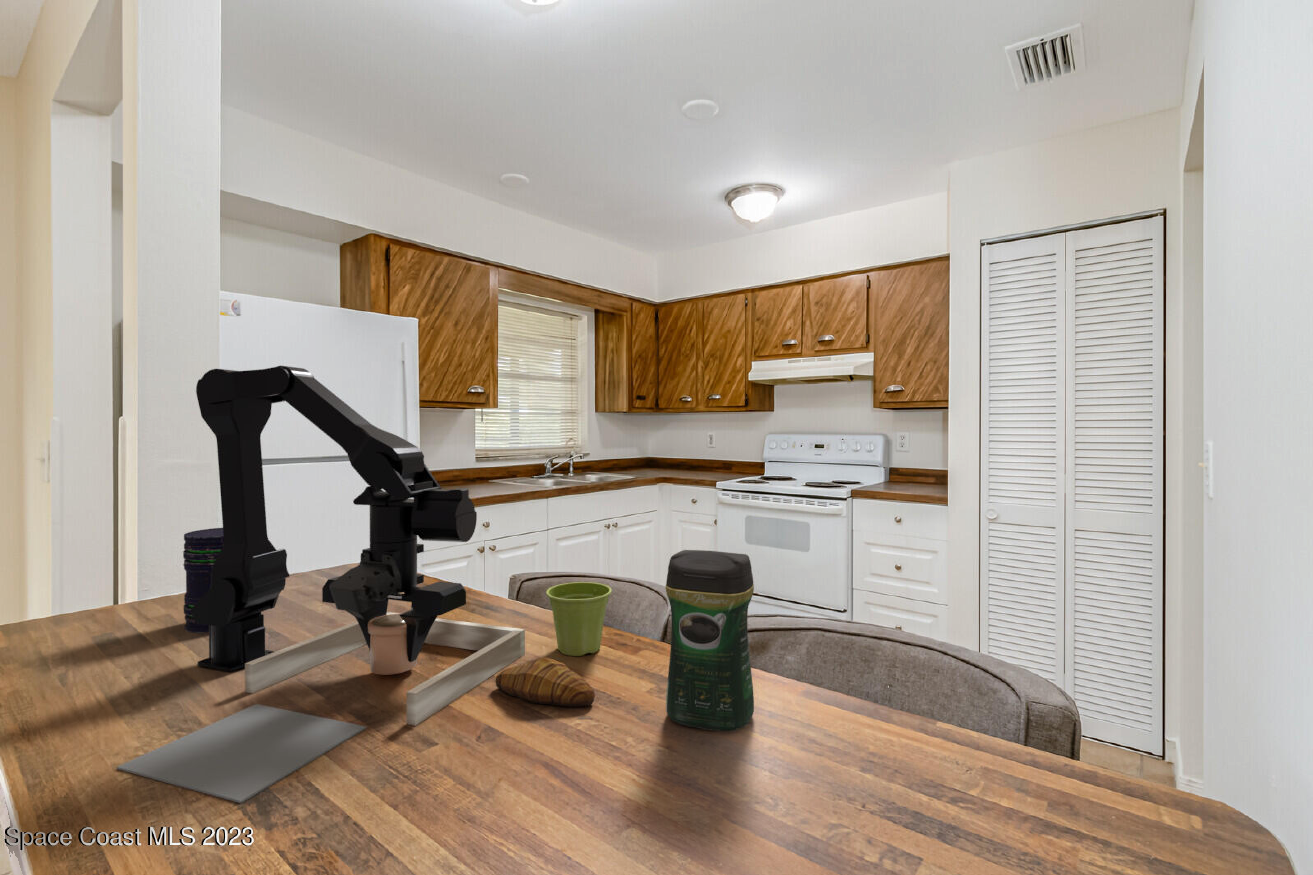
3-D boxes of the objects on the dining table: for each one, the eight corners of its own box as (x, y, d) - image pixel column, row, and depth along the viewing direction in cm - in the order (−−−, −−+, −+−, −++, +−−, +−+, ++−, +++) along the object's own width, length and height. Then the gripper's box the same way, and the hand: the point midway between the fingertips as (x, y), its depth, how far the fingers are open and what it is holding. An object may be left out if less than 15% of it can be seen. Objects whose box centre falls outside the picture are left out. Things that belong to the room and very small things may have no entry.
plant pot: (600, 664, 85) (601, 600, 85) (536, 658, 87) (536, 596, 86) (618, 640, 94) (618, 583, 94) (559, 636, 96) (559, 580, 96)
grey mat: (116, 768, 58) (116, 766, 58) (256, 705, 72) (256, 703, 72) (240, 803, 53) (240, 801, 53) (366, 728, 66) (366, 726, 66)
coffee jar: (759, 709, 71) (761, 548, 71) (743, 741, 64) (745, 562, 64) (680, 695, 75) (681, 542, 75) (656, 724, 68) (657, 554, 67)
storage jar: (172, 626, 100) (171, 533, 99) (239, 610, 108) (239, 525, 108) (201, 637, 94) (200, 539, 94) (269, 620, 103) (268, 530, 102)
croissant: (479, 700, 74) (479, 658, 74) (513, 679, 80) (513, 640, 80) (577, 722, 68) (578, 677, 68) (606, 697, 75) (606, 656, 75)
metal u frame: (245, 692, 75) (244, 663, 75) (382, 633, 96) (382, 611, 96) (415, 725, 67) (415, 693, 67) (524, 653, 88) (525, 629, 88)
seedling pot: (356, 671, 79) (356, 624, 79) (392, 654, 85) (392, 611, 85) (395, 678, 77) (396, 630, 77) (429, 660, 83) (429, 615, 83)
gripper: (284, 545, 76) (285, 671, 77) (408, 556, 70) (408, 693, 71) (355, 531, 87) (355, 641, 87) (468, 539, 81) (468, 658, 81)
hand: (393, 658), depth 81 cm, fingers closed on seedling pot, 6 cm apart
